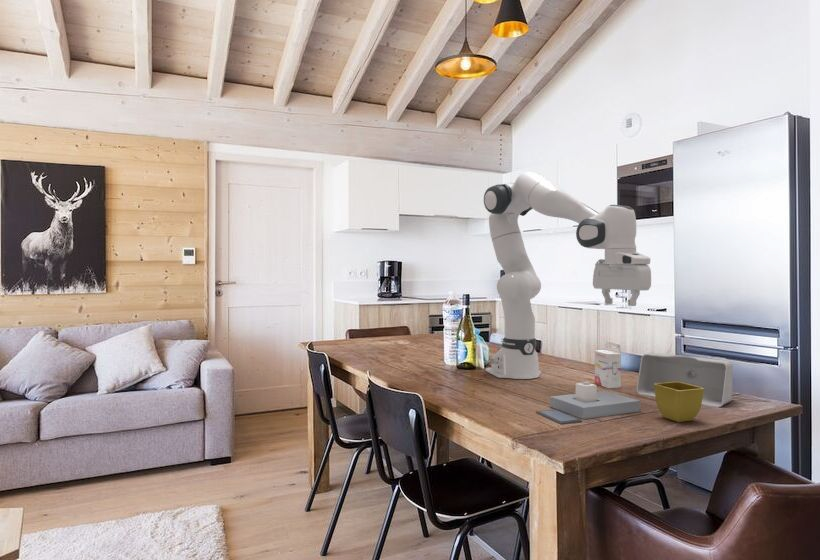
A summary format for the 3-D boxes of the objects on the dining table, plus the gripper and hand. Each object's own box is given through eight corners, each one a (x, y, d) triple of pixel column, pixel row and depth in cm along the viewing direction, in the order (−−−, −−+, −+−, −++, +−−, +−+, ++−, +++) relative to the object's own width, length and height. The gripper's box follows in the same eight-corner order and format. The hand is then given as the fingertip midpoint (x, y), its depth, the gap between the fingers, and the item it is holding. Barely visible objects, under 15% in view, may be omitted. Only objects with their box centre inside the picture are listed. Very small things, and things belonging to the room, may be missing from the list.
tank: (738, 399, 166) (739, 358, 166) (722, 408, 155) (722, 365, 155) (655, 386, 184) (656, 350, 184) (635, 394, 173) (635, 355, 173)
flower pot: (704, 422, 140) (705, 387, 140) (678, 425, 138) (679, 390, 137) (677, 413, 149) (678, 381, 149) (652, 416, 146) (652, 383, 146)
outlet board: (550, 406, 156) (550, 396, 156) (604, 400, 164) (604, 390, 164) (583, 419, 143) (583, 407, 143) (640, 411, 151) (640, 400, 151)
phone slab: (535, 415, 150) (535, 411, 150) (555, 412, 152) (555, 409, 152) (560, 426, 139) (560, 422, 139) (582, 424, 141) (582, 420, 141)
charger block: (575, 408, 154) (575, 381, 154) (586, 406, 155) (586, 380, 155) (585, 411, 150) (585, 384, 150) (596, 410, 152) (596, 383, 151)
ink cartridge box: (593, 383, 189) (593, 341, 188) (606, 382, 190) (606, 341, 190) (608, 388, 180) (608, 344, 180) (621, 388, 182) (621, 344, 181)
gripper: (587, 259, 170) (587, 303, 170) (638, 257, 151) (638, 307, 151) (603, 259, 173) (603, 302, 173) (655, 258, 154) (654, 306, 154)
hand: (620, 304), depth 162 cm, fingers open, 8 cm apart
